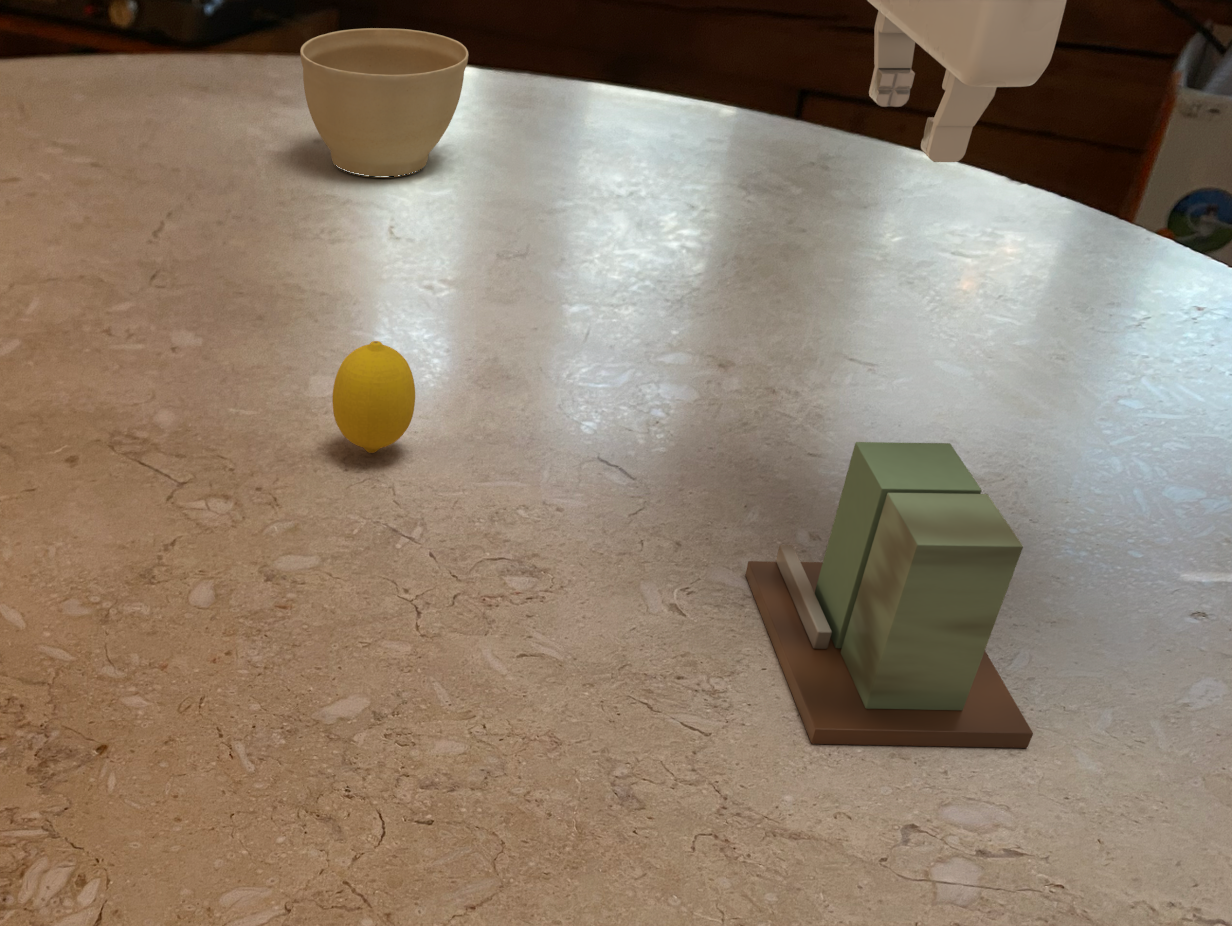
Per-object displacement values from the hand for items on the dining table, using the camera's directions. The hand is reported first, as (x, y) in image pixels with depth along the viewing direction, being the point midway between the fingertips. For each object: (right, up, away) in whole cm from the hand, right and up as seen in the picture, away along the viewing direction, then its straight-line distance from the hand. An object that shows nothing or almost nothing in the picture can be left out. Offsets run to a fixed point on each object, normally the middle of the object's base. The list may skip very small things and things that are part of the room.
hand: (912, 129), depth 78 cm
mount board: (-1, -28, +3) cm, 29 cm away
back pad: (-1, -26, +4) cm, 26 cm away
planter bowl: (-23, +24, +69) cm, 77 cm away
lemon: (-27, -13, +22) cm, 38 cm away
